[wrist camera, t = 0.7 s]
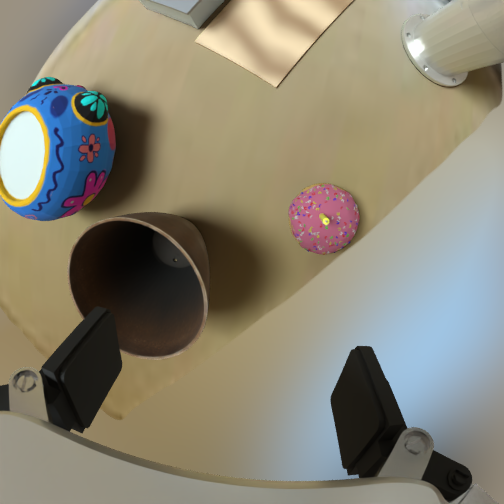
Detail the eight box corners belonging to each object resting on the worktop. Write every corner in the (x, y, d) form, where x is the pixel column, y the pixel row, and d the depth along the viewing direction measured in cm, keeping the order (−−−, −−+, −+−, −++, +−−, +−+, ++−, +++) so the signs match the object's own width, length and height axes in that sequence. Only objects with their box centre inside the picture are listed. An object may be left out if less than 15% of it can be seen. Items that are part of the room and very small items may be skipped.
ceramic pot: (156, 112, 33) (97, 94, 19) (110, 225, 39) (48, 261, 25) (71, 80, 31) (5, 66, 17) (36, 181, 37) (-28, 199, 22)
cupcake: (272, 211, 37) (275, 237, 26) (318, 165, 35) (342, 171, 24) (316, 254, 39) (336, 295, 28) (360, 211, 37) (397, 237, 25)
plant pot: (183, 308, 43) (149, 379, 28) (112, 243, 40) (49, 288, 25) (251, 245, 39) (243, 304, 24) (172, 168, 36) (114, 180, 21)
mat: (285, -46, 23) (285, -48, 23) (359, -7, 25) (360, -8, 25) (195, 42, 30) (194, 41, 29) (275, 87, 32) (275, 87, 31)
